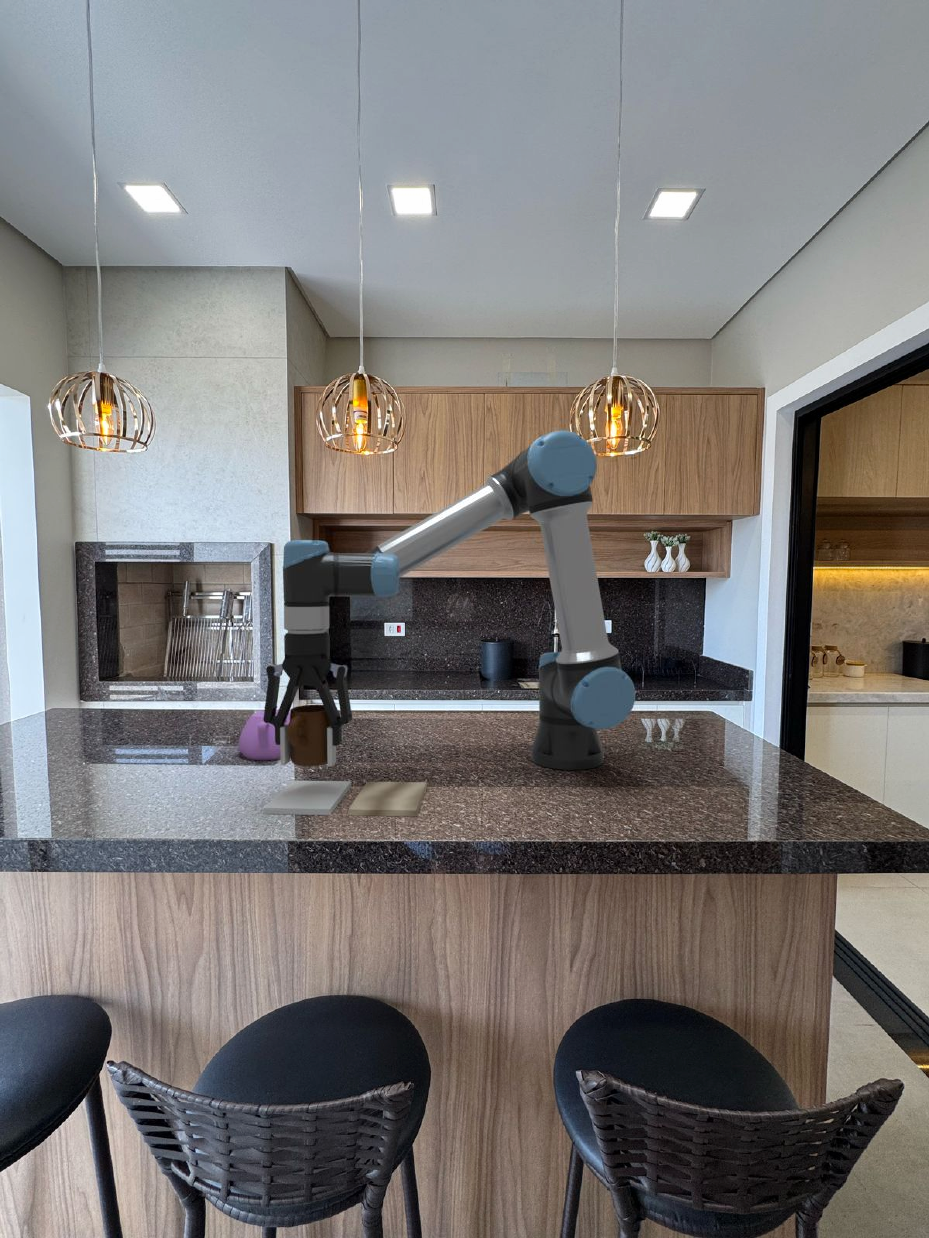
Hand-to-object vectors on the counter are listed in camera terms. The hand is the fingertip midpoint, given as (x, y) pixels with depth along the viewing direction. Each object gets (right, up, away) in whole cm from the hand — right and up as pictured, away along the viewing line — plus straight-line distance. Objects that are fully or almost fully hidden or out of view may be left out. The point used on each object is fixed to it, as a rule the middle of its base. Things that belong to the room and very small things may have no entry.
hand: (308, 763), depth 105 cm
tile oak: (+14, -6, 0) cm, 15 cm away
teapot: (-16, -5, +31) cm, 36 cm away
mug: (0, 0, 0) cm, 1 cm away
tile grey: (0, -6, 0) cm, 6 cm away
